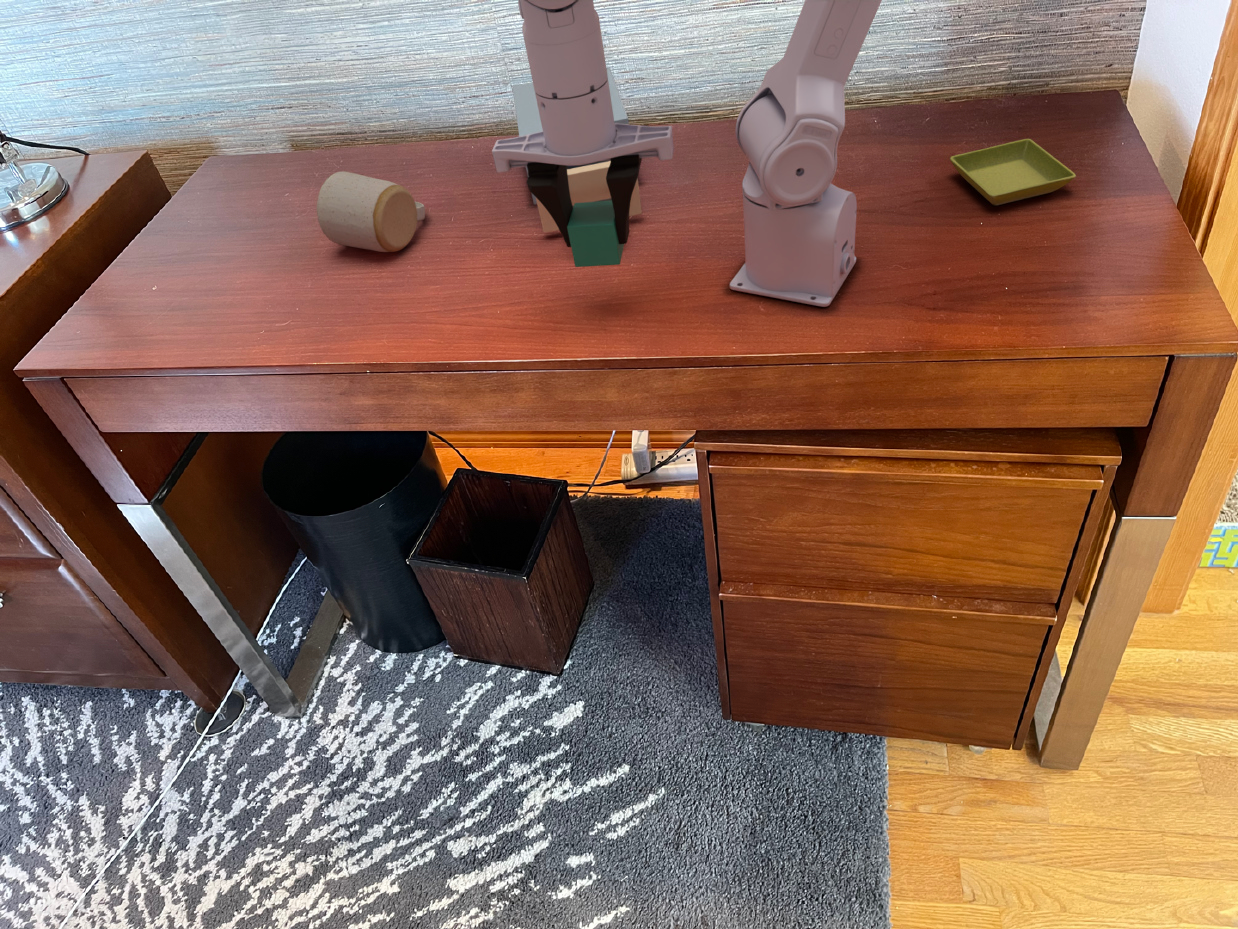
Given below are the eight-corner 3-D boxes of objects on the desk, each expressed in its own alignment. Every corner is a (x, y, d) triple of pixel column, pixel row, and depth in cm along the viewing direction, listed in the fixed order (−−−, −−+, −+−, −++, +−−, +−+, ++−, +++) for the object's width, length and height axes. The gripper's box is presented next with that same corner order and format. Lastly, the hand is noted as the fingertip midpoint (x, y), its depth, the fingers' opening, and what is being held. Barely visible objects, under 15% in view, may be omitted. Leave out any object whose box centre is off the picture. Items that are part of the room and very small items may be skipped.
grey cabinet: (636, 184, 99) (628, 117, 94) (534, 204, 99) (519, 139, 94) (618, 129, 110) (609, 66, 104) (525, 147, 110) (512, 85, 104)
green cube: (625, 240, 80) (619, 199, 77) (620, 265, 77) (613, 223, 75) (581, 242, 81) (574, 202, 78) (575, 267, 78) (566, 226, 75)
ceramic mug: (390, 267, 94) (367, 199, 88) (330, 257, 97) (304, 191, 92) (446, 217, 100) (427, 151, 95) (388, 209, 103) (366, 145, 98)
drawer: (649, 235, 90) (642, 182, 86) (547, 255, 90) (535, 203, 86) (623, 156, 103) (616, 106, 98) (534, 174, 102) (523, 125, 98)
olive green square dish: (1074, 195, 86) (1078, 175, 85) (988, 215, 86) (991, 195, 84) (1025, 156, 92) (1029, 137, 91) (945, 175, 92) (947, 156, 90)
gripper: (669, 53, 70) (684, 210, 80) (491, 70, 73) (527, 220, 82) (661, 91, 65) (678, 253, 75) (471, 108, 68) (511, 263, 77)
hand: (598, 239), depth 78 cm, fingers closed on green cube, 4 cm apart
